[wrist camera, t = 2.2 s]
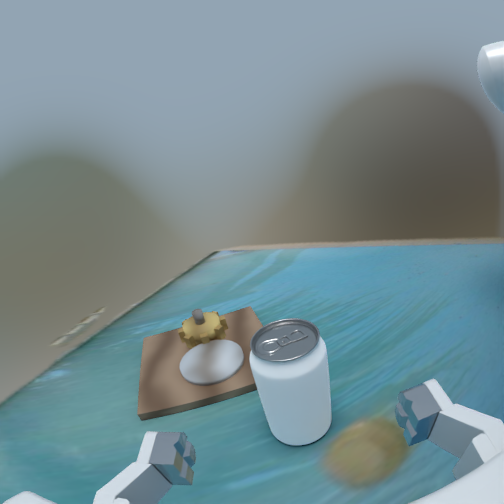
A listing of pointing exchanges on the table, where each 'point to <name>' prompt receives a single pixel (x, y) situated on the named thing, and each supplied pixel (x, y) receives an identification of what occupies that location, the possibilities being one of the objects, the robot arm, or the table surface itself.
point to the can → (292, 379)
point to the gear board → (197, 363)
